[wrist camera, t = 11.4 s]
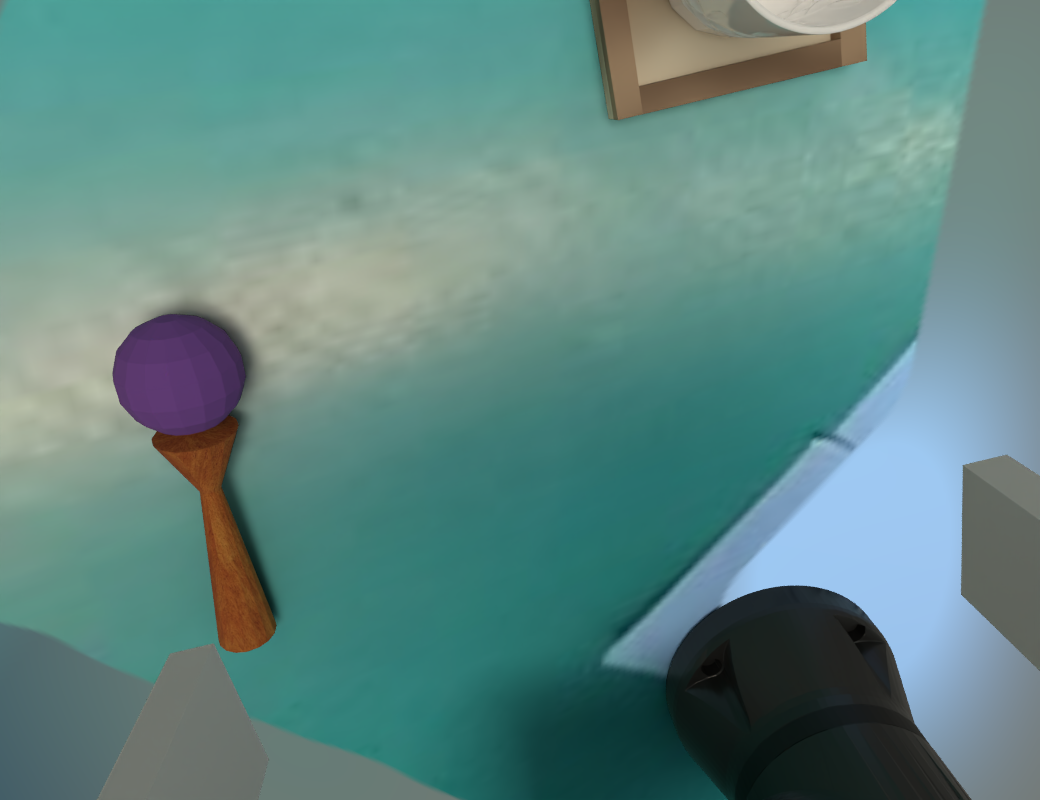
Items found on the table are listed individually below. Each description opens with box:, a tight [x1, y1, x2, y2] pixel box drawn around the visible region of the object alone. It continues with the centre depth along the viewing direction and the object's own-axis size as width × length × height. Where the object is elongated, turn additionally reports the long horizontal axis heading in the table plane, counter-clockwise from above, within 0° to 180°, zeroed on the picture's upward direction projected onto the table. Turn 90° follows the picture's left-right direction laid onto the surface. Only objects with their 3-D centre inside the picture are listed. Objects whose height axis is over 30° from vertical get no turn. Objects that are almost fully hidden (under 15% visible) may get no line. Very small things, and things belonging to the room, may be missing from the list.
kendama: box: [113, 314, 277, 653], centre depth 41 cm, size 6×6×20 cm
